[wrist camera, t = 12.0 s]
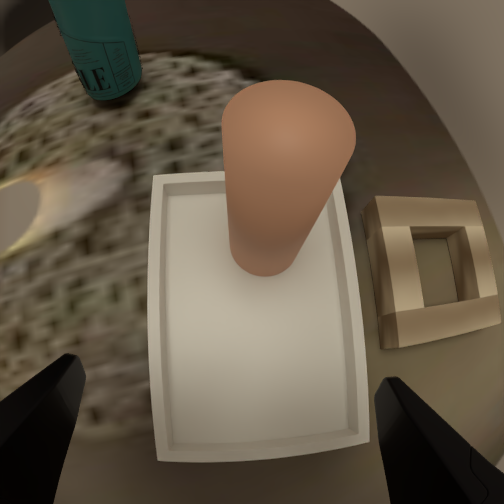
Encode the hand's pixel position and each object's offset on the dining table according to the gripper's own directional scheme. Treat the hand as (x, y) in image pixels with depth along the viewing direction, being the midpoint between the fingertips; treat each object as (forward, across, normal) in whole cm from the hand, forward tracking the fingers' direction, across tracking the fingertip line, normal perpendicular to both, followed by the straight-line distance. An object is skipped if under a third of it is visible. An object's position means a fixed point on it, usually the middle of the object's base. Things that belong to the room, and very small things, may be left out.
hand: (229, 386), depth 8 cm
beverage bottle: (+28, +14, -8) cm, 32 cm away
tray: (+12, -1, +7) cm, 14 cm away
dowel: (+15, -2, +3) cm, 16 cm away
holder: (+15, -16, +4) cm, 22 cm away
